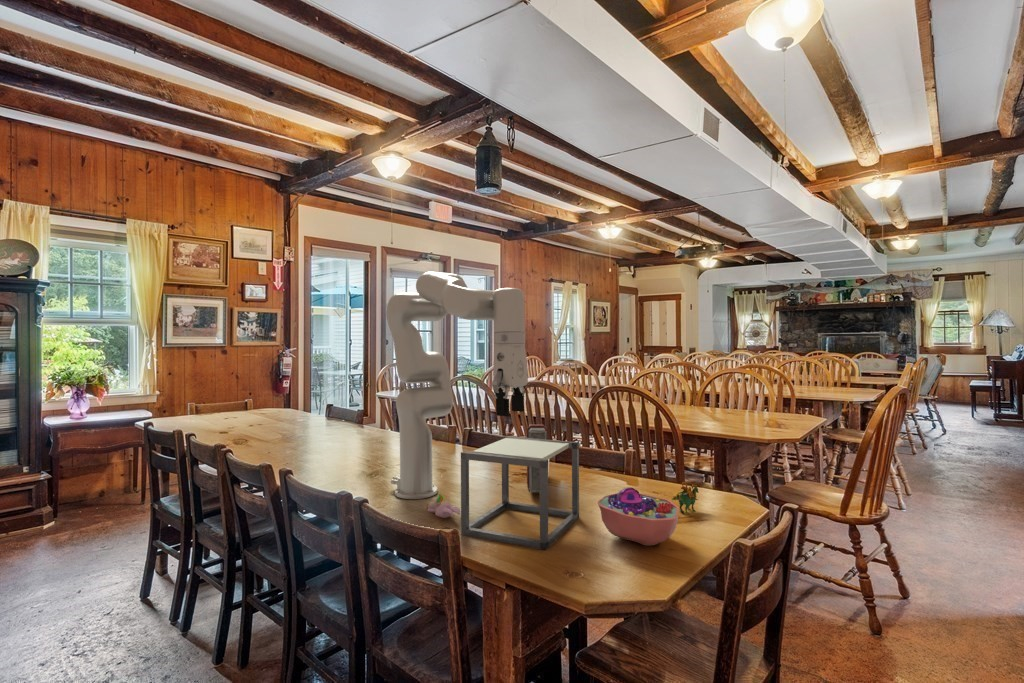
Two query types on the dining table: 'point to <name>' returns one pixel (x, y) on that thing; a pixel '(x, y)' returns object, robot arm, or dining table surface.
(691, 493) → the figurine
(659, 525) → the cell model
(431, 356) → the robot arm
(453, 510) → the rabbit figure
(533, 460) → the frame
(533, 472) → the decorative stone tablet
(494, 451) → the trapdoor plate
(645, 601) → the dining table surface
